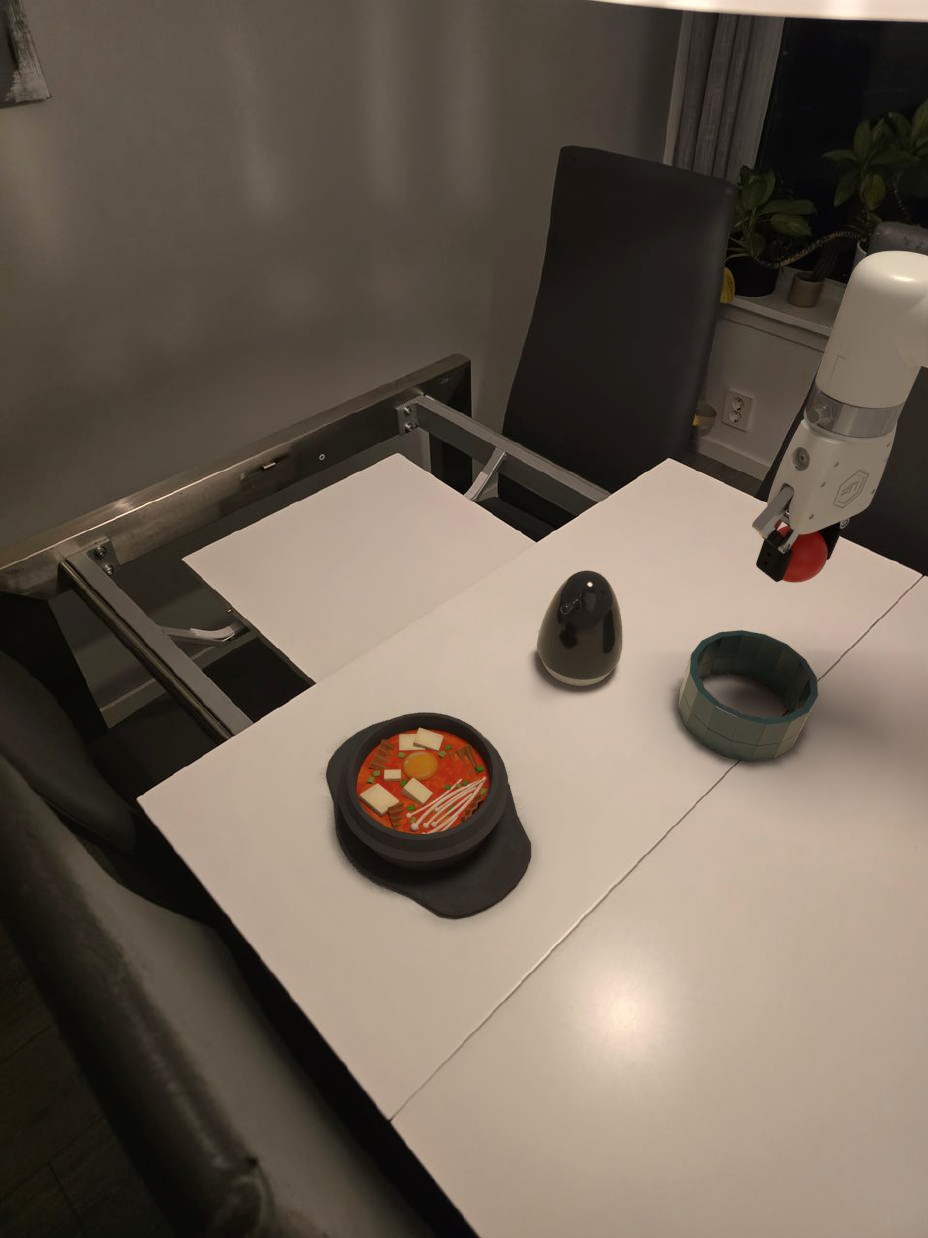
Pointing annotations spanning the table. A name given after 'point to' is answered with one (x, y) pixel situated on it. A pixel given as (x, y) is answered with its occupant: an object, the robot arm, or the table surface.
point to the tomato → (805, 556)
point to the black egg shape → (581, 630)
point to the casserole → (429, 811)
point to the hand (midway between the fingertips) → (792, 561)
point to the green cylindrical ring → (763, 664)
